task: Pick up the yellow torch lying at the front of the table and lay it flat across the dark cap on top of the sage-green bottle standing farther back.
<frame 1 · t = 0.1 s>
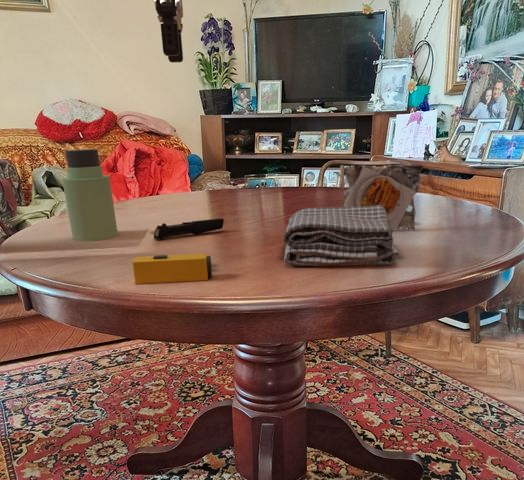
hand: (174, 59, 74), 31 cm above the table, tool pointing down, fingers open, 8 cm apart
towel: (338, 258, 88), on the table
torch: (172, 279, 79), on the table
bottle: (96, 242, 106), on the table
meal: (378, 232, 107), on the table
electric trimmer: (189, 236, 110), on the table
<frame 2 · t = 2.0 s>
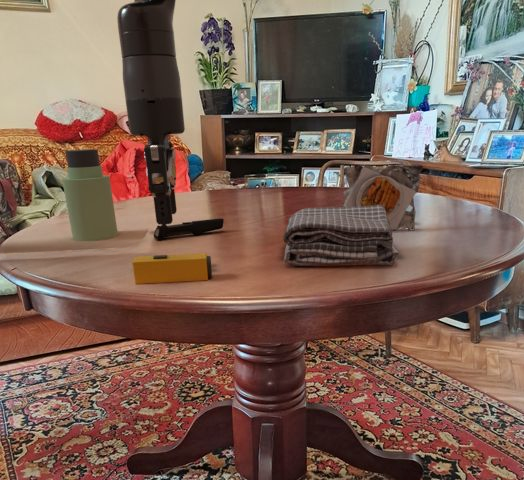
hand: (167, 218, 75), 9 cm above the table, tool pointing down, fingers open, 8 cm apart
nothing on the table moved.
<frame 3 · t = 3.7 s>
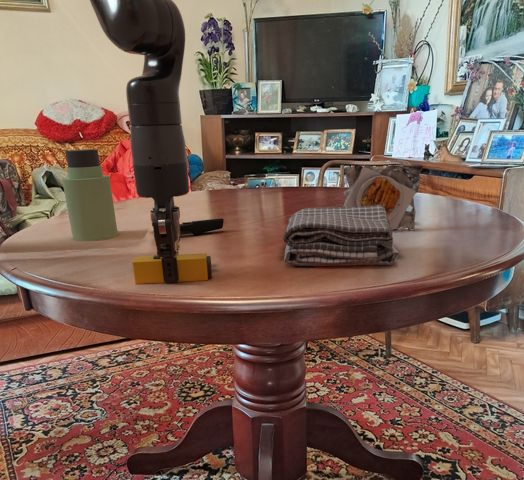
hand: (172, 278, 79), 0 cm above the table, tool pointing down, fingers closed on torch, 3 cm apart
torch: (172, 279, 79), on the table, touching gripper
everything else where it was.
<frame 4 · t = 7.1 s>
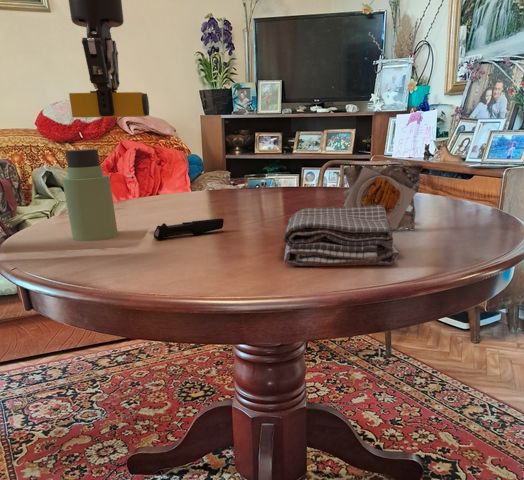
hand: (109, 115, 81), 24 cm above the table, tool pointing down, fingers closed on torch, 3 cm apart
torch: (110, 116, 82), point 23 cm above the table, touching gripper
everything else where it was.
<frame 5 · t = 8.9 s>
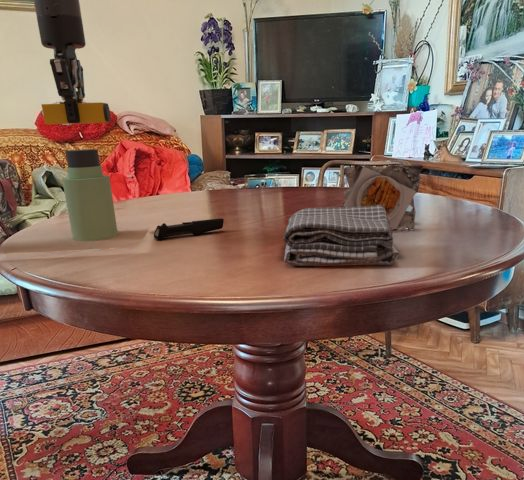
hand: (76, 122, 97), 23 cm above the table, tool pointing down, fingers closed on torch, 3 cm apart
torch: (77, 123, 97), point 23 cm above the table, touching gripper
everything else where it was.
when the fingers open (18 cm above the table, at t = 10.6 s): torch stays where it is, resting on bottle.
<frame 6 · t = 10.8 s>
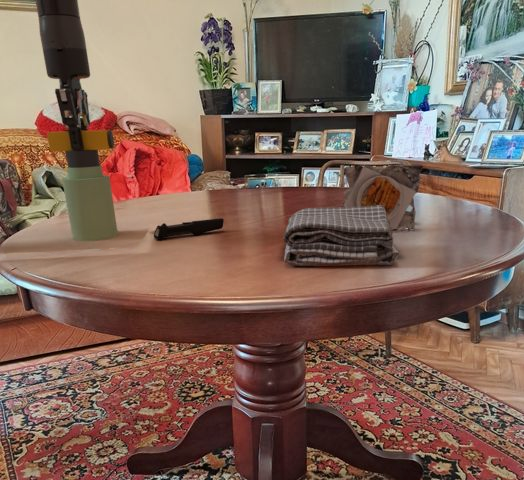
hand: (81, 149, 99), 18 cm above the table, tool pointing down, fingers open, 4 cm apart
torch: (81, 150, 99), point 18 cm above the table, touching bottle
everything else where it was.
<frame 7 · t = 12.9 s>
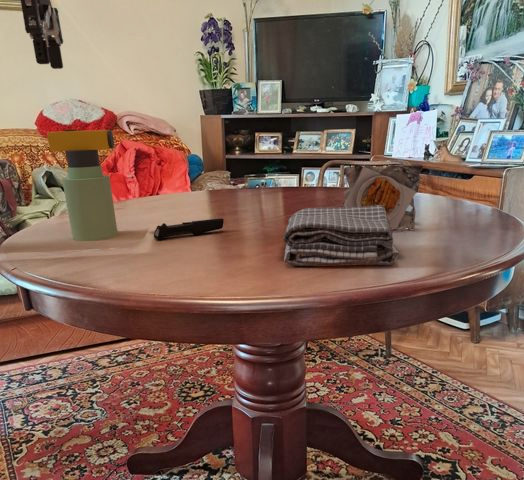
hand: (50, 66, 96), 33 cm above the table, tool pointing down, fingers open, 8 cm apart
nothing on the table moved.
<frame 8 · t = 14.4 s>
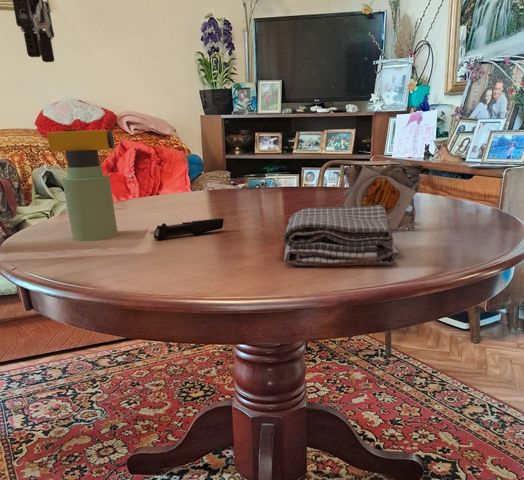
hand: (42, 59, 97), 34 cm above the table, tool pointing down, fingers open, 8 cm apart
nothing on the table moved.
at the end: torch 0.0 cm off-centre on the bottle, point 18.0 cm above the bottle's base; torch tilted 0°; the gripper is holding nothing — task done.
